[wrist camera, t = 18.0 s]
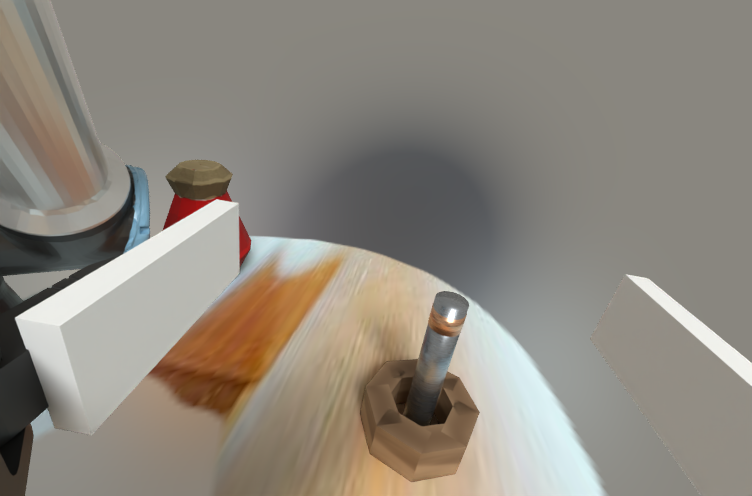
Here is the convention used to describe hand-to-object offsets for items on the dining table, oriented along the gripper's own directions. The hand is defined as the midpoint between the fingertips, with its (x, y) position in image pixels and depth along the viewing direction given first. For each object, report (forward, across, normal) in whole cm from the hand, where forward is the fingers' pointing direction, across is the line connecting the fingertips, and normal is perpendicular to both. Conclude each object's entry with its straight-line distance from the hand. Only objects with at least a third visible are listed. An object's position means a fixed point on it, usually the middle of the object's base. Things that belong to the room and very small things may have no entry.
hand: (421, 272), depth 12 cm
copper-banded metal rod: (+18, +6, -30) cm, 35 cm away
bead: (+18, +6, -30) cm, 35 cm away
